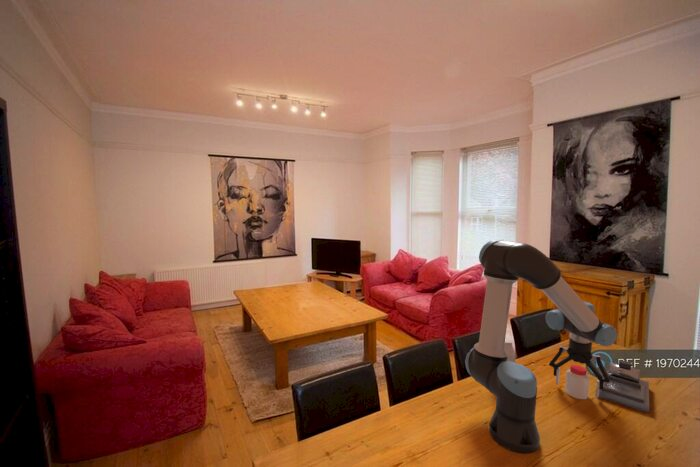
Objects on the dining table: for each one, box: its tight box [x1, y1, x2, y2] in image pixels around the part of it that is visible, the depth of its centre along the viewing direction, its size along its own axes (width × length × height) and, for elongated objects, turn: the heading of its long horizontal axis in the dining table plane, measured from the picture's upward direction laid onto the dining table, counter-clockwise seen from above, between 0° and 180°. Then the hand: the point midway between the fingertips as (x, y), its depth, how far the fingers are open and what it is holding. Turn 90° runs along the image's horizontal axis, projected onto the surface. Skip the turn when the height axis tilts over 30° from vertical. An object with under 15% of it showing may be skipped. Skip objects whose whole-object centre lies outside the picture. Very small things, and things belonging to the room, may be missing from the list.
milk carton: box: [504, 341, 517, 363], centre depth 140 cm, size 7×7×19 cm
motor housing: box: [595, 359, 650, 414], centre depth 135 cm, size 22×16×10 cm
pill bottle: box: [564, 364, 590, 400], centre depth 134 cm, size 8×8×11 cm
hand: (576, 389), depth 134 cm, fingers open, 13 cm apart
